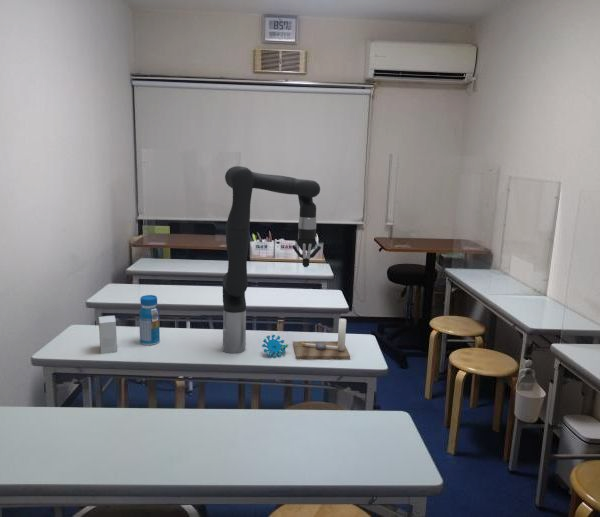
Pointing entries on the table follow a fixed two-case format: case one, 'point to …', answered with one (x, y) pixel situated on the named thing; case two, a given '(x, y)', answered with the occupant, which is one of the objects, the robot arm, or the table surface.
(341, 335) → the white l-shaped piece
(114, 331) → the small box
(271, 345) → the blue spiky ball
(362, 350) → the table surface
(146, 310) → the beverage bottle
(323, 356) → the wooden cutting board
